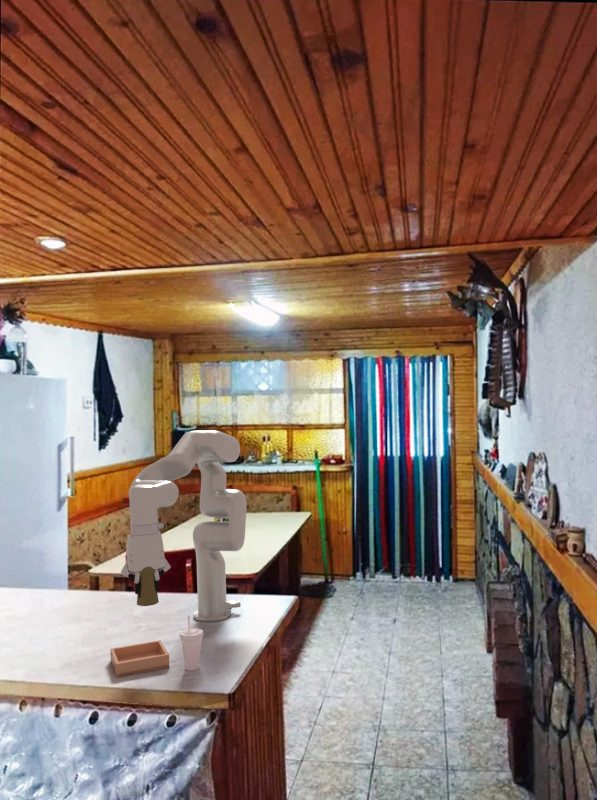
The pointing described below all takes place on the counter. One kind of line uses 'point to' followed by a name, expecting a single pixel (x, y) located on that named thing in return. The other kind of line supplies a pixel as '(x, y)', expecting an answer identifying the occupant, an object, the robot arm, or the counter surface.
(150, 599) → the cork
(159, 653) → the terracotta tray
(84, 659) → the counter surface
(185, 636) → the smoothie
